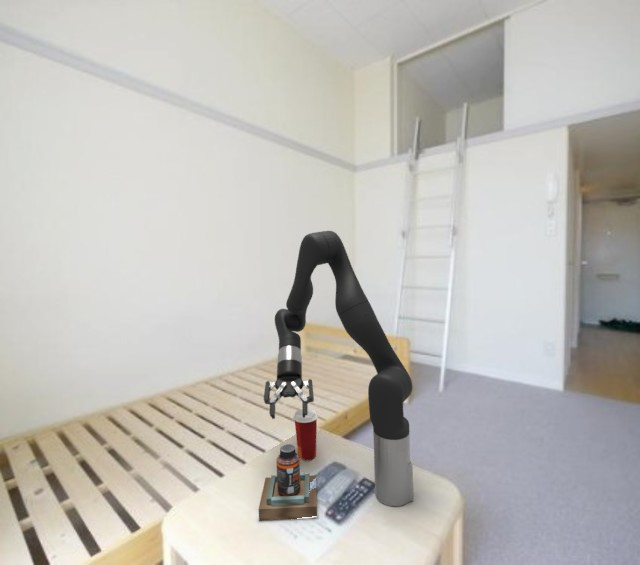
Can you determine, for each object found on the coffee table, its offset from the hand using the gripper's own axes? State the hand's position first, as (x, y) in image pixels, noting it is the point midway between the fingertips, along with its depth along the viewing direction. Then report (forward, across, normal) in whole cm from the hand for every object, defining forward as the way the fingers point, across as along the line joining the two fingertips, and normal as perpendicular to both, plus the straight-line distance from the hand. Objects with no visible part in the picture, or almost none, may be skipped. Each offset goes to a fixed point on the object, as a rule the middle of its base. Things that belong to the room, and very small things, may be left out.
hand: (288, 417), depth 95 cm
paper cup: (+4, +4, +23) cm, 24 cm away
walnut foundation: (+19, 0, +8) cm, 21 cm away
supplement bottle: (+17, 0, +6) cm, 18 cm away
